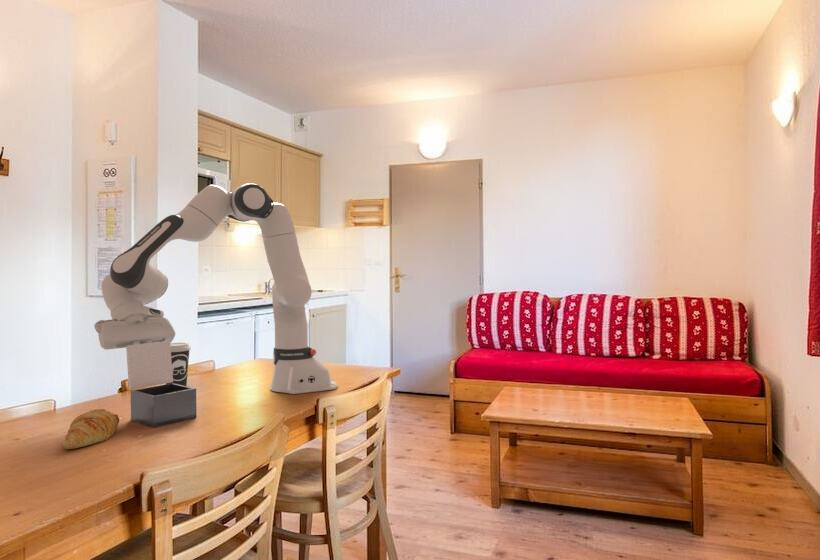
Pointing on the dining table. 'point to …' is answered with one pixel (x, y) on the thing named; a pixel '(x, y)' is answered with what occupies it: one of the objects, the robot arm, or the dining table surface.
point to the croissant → (91, 428)
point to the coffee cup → (180, 362)
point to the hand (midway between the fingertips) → (147, 355)
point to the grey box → (163, 404)
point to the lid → (149, 364)
